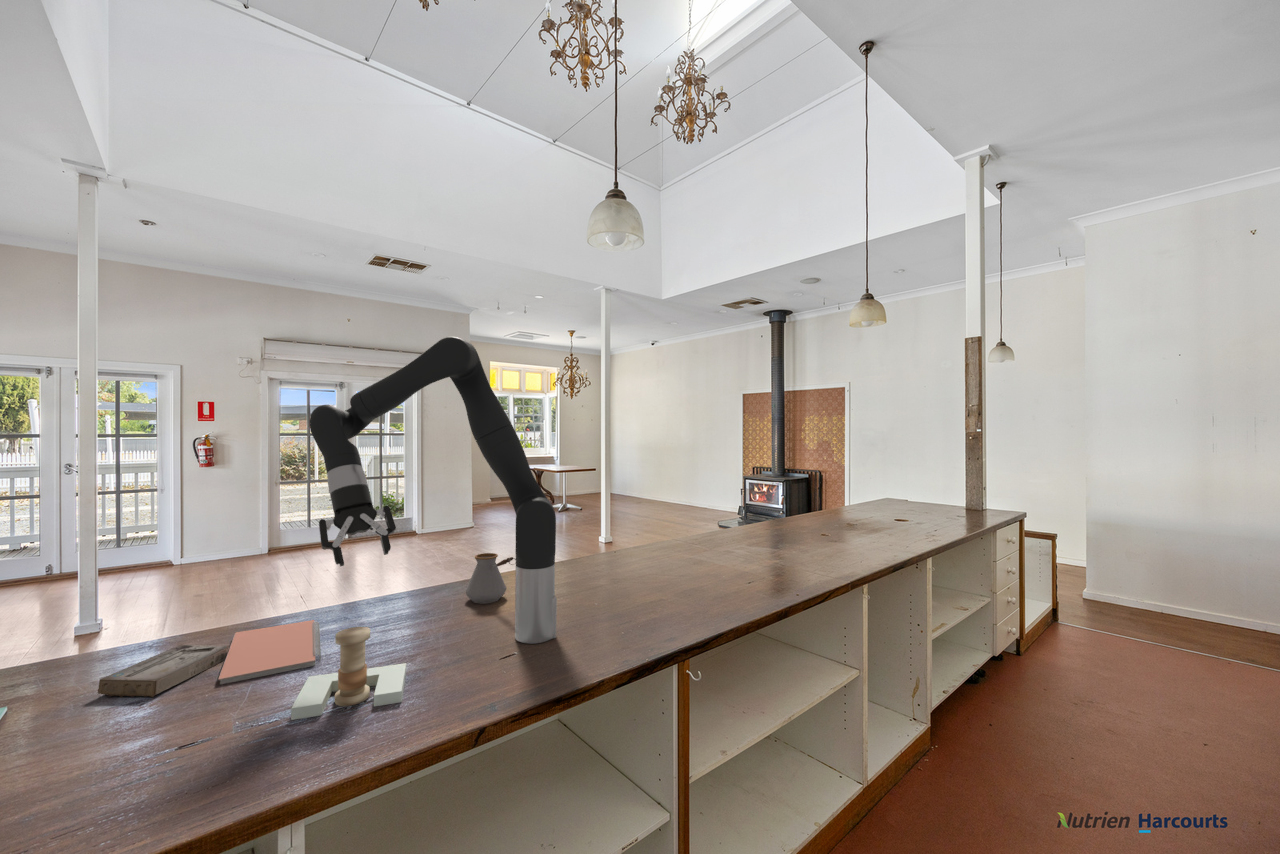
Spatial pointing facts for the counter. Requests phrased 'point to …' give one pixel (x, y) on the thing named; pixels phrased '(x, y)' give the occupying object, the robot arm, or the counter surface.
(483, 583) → the coffee pot
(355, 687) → the bobbin
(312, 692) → the notched board
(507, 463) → the robot arm
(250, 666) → the notebook
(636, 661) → the counter surface
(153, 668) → the box
